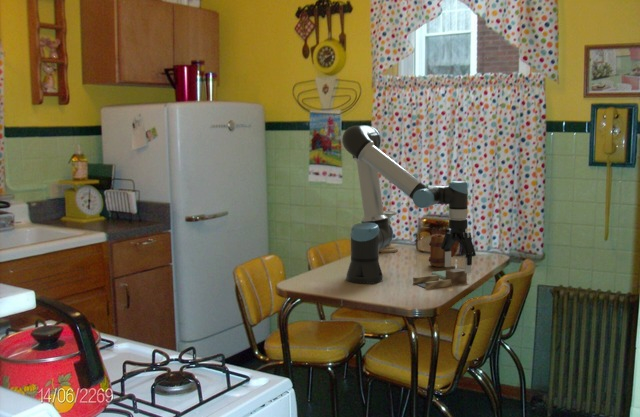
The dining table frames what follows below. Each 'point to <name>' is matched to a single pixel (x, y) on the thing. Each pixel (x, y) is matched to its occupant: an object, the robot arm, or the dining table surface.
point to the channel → (431, 282)
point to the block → (456, 276)
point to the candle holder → (390, 247)
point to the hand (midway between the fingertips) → (457, 269)
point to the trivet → (440, 274)
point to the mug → (439, 251)
